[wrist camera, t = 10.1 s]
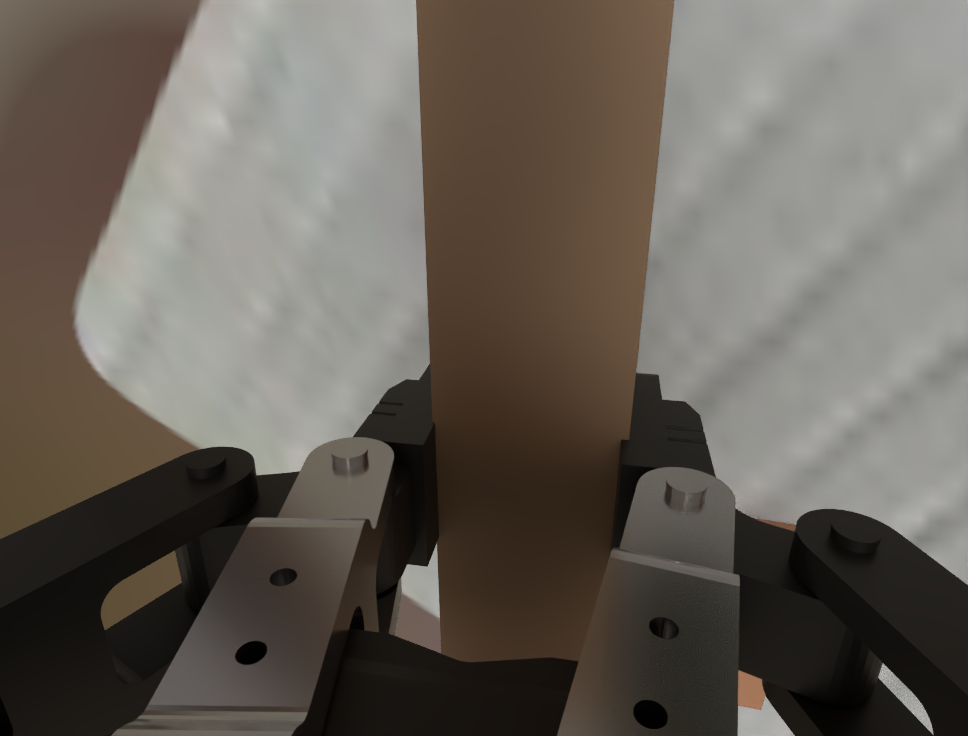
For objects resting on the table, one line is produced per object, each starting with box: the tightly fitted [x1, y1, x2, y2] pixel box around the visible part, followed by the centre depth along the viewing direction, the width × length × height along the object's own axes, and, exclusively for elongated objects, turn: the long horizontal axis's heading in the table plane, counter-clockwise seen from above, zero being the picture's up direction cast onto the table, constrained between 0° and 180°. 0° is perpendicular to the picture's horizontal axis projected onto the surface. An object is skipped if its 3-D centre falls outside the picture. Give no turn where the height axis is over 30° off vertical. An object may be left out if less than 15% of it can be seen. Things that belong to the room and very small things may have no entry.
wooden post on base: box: [416, 0, 674, 662], centre depth 13 cm, size 6×20×4 cm, turn 0°
